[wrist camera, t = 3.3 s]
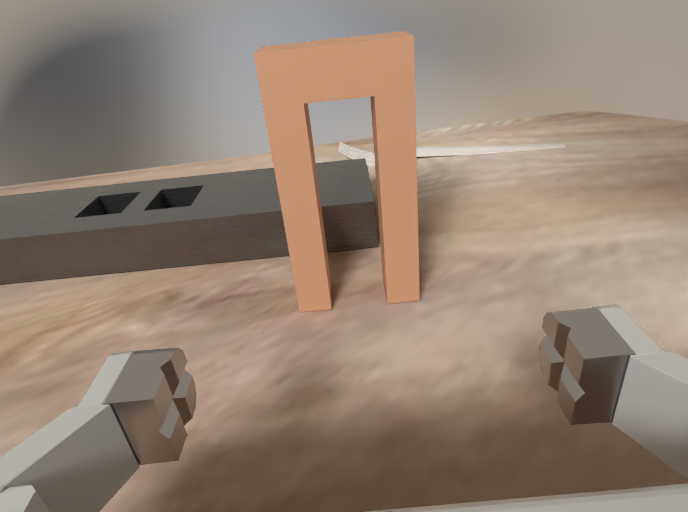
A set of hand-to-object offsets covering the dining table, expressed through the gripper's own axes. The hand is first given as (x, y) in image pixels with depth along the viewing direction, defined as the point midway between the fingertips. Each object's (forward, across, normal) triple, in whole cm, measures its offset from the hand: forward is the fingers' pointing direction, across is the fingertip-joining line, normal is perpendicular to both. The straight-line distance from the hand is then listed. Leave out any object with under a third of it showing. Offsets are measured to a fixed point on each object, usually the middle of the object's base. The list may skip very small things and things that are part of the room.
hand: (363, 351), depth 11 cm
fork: (+33, -10, +7) cm, 35 cm away
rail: (+21, +14, +7) cm, 26 cm away
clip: (+12, 0, +7) cm, 14 cm away
